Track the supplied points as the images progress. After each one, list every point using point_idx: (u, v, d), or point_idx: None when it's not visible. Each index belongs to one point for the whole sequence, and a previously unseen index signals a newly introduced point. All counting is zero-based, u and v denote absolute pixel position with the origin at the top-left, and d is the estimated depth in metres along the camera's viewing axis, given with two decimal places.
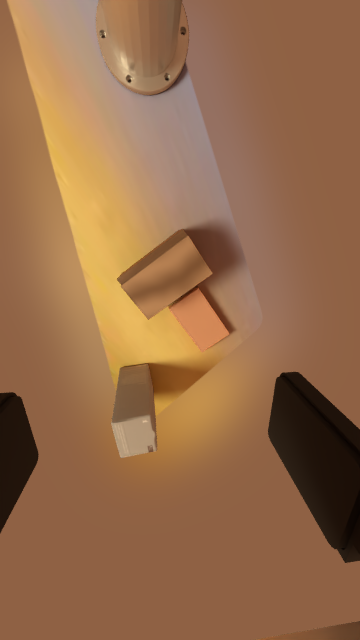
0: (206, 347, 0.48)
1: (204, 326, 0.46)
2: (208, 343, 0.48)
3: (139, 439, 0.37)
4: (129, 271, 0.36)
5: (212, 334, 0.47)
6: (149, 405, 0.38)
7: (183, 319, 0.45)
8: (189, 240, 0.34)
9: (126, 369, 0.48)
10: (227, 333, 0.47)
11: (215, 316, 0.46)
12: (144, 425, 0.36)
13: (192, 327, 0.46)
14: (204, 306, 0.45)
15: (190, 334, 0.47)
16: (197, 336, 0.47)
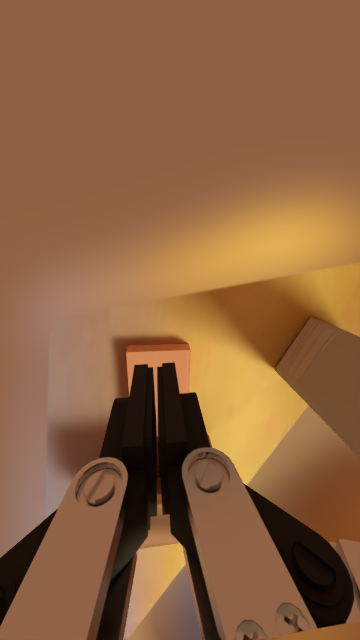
0: (178, 353, 0.25)
1: None
2: (170, 357, 0.25)
3: None
4: None
5: (155, 368, 0.25)
6: (359, 456, 0.17)
7: None
8: None
9: None
10: (129, 355, 0.24)
11: None
12: None
13: None
14: None
15: (186, 387, 0.27)
16: (179, 378, 0.26)
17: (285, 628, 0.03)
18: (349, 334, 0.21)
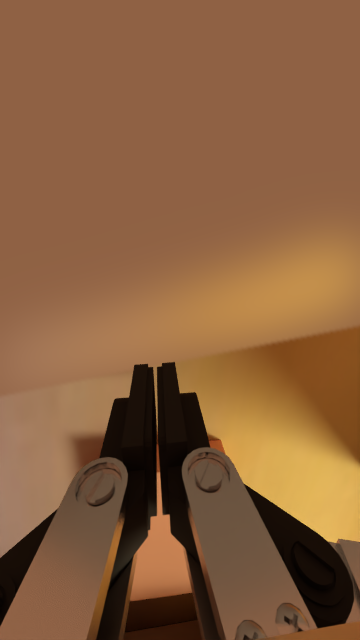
0: None
1: (161, 528, 0.13)
2: None
3: None
4: None
5: None
6: None
7: None
8: None
9: None
10: None
11: None
12: None
13: None
14: None
15: None
16: None
17: (285, 628, 0.03)
18: None
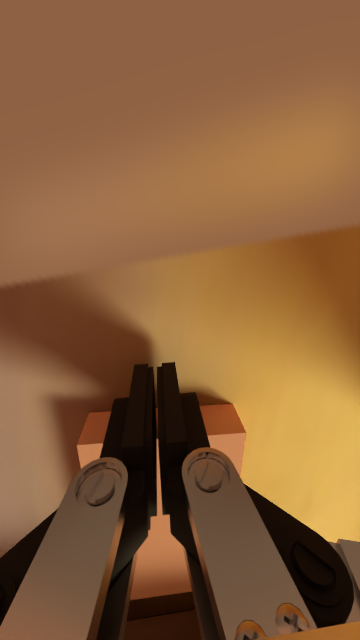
0: (214, 441, 0.10)
1: None
2: None
3: None
4: None
5: None
6: None
7: None
8: None
9: None
10: (85, 451, 0.09)
11: None
12: None
13: None
14: None
15: None
16: None
17: (285, 628, 0.03)
18: None
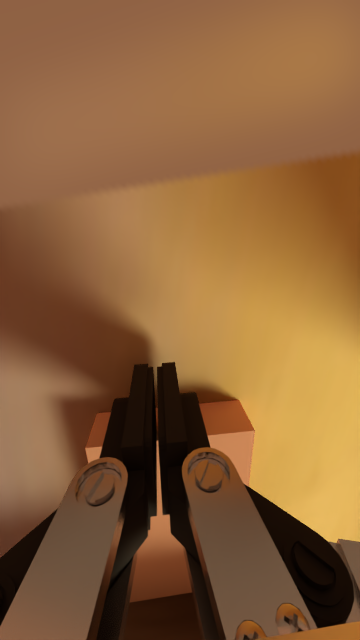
0: (222, 440, 0.10)
1: None
2: None
3: None
4: None
5: None
6: None
7: None
8: None
9: None
10: (94, 454, 0.09)
11: None
12: None
13: None
14: None
15: None
16: None
17: (285, 628, 0.03)
18: None
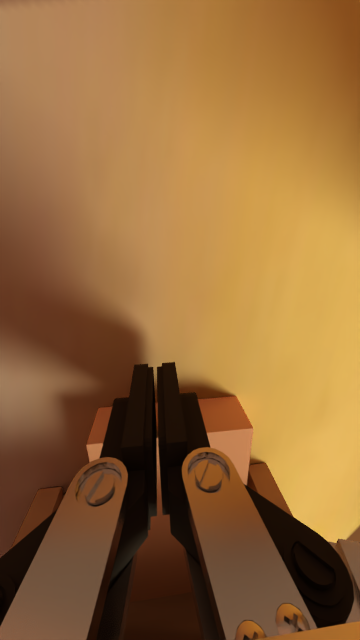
0: (221, 437, 0.10)
1: None
2: None
3: None
4: None
5: None
6: None
7: None
8: None
9: None
10: (95, 451, 0.09)
11: None
12: None
13: None
14: None
15: None
16: None
17: (285, 628, 0.03)
18: None
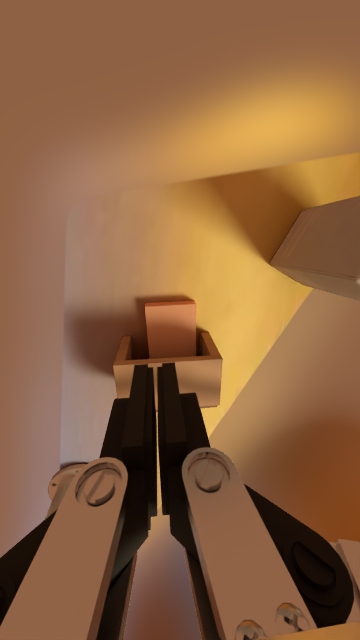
0: (186, 307, 0.31)
1: (170, 336, 0.33)
2: (180, 310, 0.31)
3: None
4: (200, 406, 0.31)
5: (168, 319, 0.32)
6: (335, 276, 0.19)
7: None
8: None
9: (299, 281, 0.31)
10: (147, 309, 0.31)
11: (150, 340, 0.33)
12: None
13: (186, 343, 0.33)
14: None
15: (193, 336, 0.33)
16: (188, 328, 0.33)
17: (285, 628, 0.03)
18: (334, 202, 0.24)
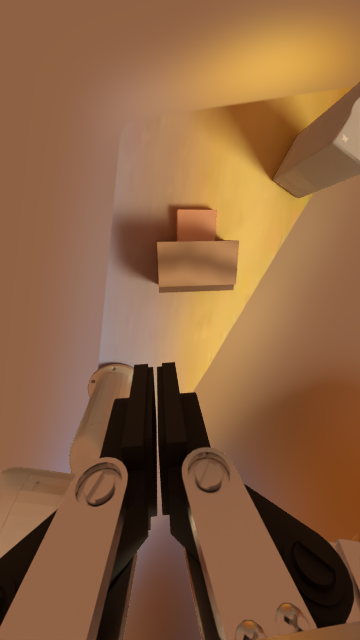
0: (209, 212, 0.40)
1: (196, 237, 0.41)
2: (204, 215, 0.40)
3: None
4: (220, 289, 0.40)
5: (194, 222, 0.40)
6: (320, 149, 0.28)
7: None
8: (160, 282, 0.37)
9: (295, 193, 0.41)
10: (179, 211, 0.40)
11: (179, 240, 0.41)
12: (350, 132, 0.26)
13: None
14: None
15: (213, 239, 0.42)
16: (209, 231, 0.41)
17: (285, 628, 0.03)
18: None
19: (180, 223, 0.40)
